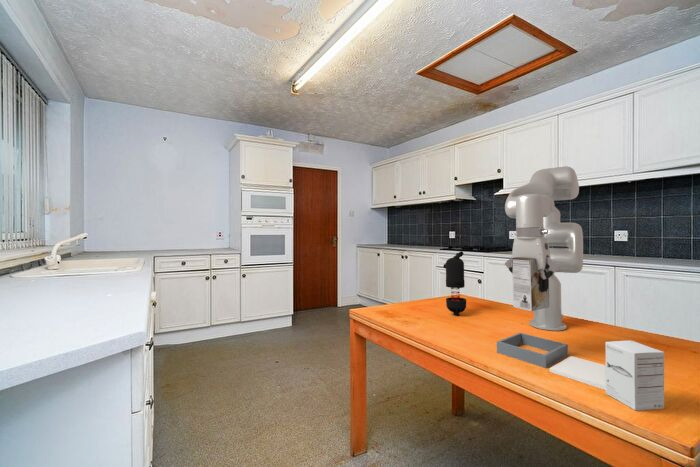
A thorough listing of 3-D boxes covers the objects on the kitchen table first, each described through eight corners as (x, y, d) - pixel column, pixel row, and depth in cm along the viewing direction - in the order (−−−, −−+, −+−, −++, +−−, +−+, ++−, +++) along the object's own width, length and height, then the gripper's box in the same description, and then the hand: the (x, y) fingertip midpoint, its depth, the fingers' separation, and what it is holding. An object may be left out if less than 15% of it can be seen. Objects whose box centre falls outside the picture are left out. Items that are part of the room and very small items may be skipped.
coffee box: (530, 303, 105) (529, 255, 104) (550, 307, 99) (549, 256, 99) (512, 307, 100) (511, 257, 100) (532, 312, 95) (531, 258, 94)
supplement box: (604, 394, 75) (603, 341, 75) (632, 392, 76) (632, 339, 76) (634, 411, 68) (634, 353, 68) (666, 409, 68) (665, 351, 68)
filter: (472, 317, 142) (471, 251, 142) (455, 319, 139) (454, 251, 139) (453, 310, 155) (452, 249, 155) (437, 312, 152) (436, 250, 152)
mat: (571, 359, 95) (571, 355, 95) (631, 376, 83) (631, 372, 83) (549, 371, 87) (549, 368, 87) (613, 392, 75) (613, 388, 75)
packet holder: (520, 342, 110) (520, 332, 110) (567, 355, 98) (567, 344, 98) (496, 352, 101) (496, 341, 101) (545, 368, 89) (545, 355, 89)
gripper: (566, 233, 94) (567, 292, 95) (509, 233, 109) (510, 284, 109) (554, 233, 90) (555, 296, 90) (496, 233, 104) (498, 287, 105)
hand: (530, 289), depth 100 cm, fingers closed on coffee box, 6 cm apart
